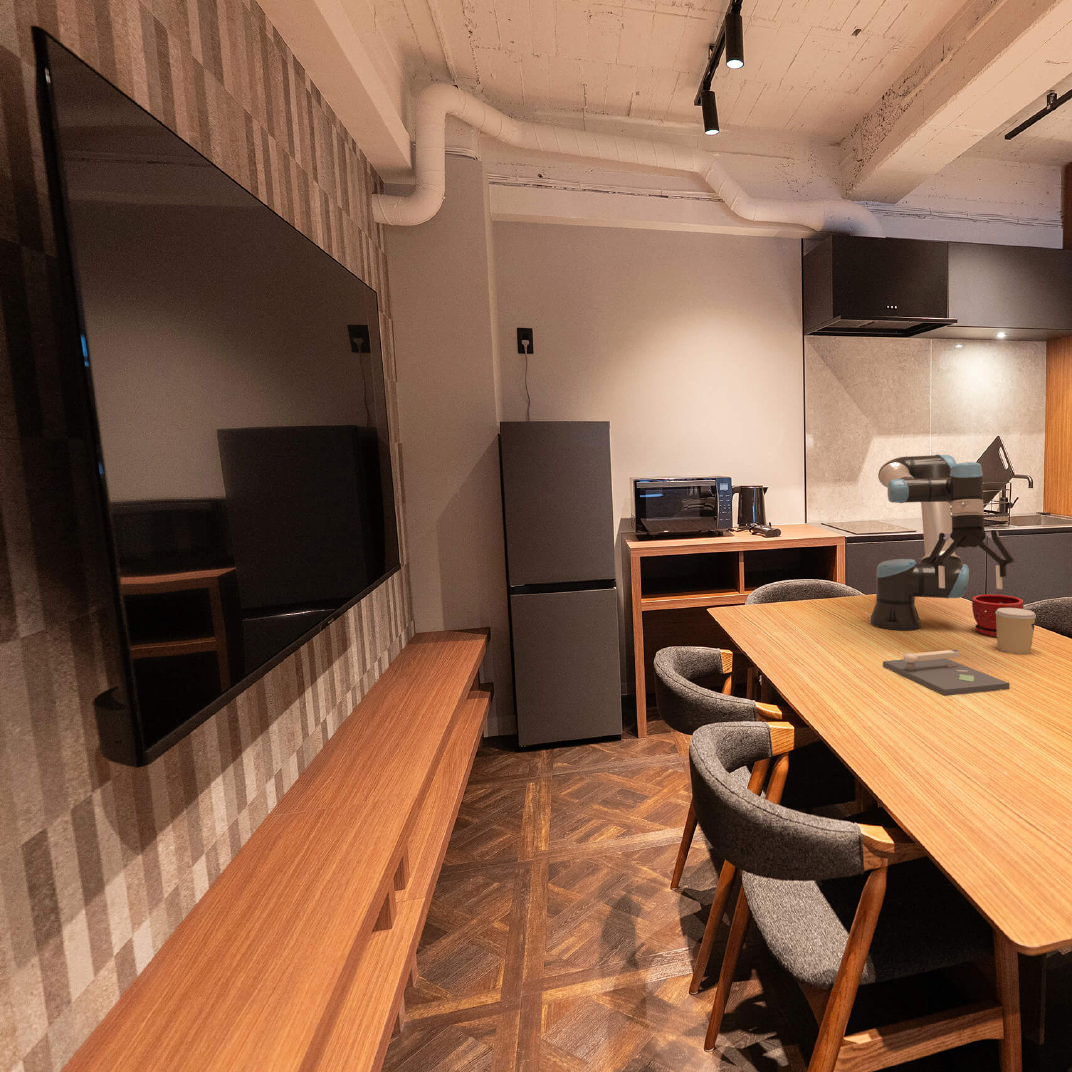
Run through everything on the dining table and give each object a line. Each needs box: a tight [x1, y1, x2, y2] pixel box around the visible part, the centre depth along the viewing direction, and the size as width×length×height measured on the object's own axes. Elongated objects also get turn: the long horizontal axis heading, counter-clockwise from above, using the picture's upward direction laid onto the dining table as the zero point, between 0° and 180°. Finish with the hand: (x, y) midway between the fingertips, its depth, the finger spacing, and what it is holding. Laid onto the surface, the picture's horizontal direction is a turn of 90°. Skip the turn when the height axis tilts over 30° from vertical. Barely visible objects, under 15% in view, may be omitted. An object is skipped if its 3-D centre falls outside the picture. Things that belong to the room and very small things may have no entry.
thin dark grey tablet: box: [882, 658, 1011, 696], centre depth 156 cm, size 22×18×4 cm
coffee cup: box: [995, 608, 1037, 655], centre depth 173 cm, size 9×9×12 cm
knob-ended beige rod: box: [903, 649, 961, 663], centre depth 158 cm, size 16×3×2 cm, turn 96°
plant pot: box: [971, 594, 1024, 638], centre depth 188 cm, size 13×13×12 cm
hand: (969, 588), depth 165 cm, fingers open, 13 cm apart
